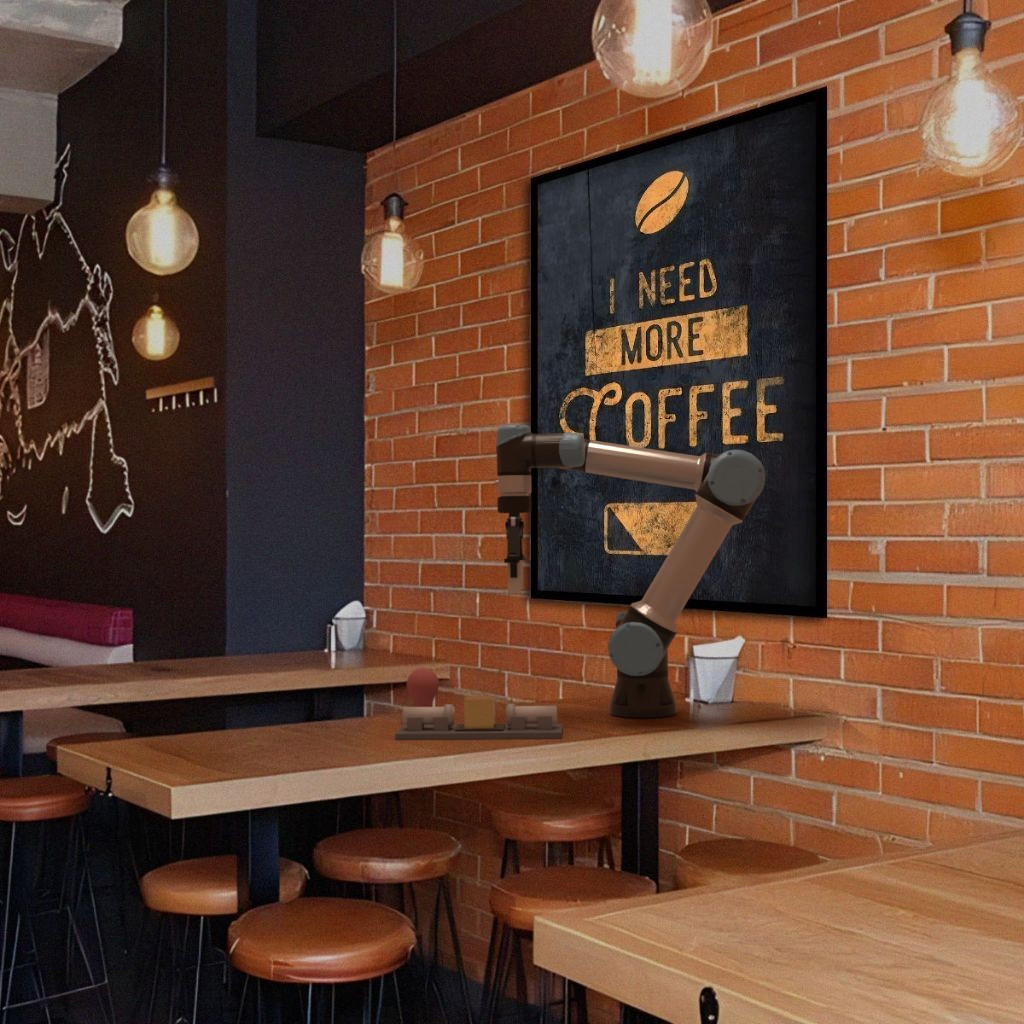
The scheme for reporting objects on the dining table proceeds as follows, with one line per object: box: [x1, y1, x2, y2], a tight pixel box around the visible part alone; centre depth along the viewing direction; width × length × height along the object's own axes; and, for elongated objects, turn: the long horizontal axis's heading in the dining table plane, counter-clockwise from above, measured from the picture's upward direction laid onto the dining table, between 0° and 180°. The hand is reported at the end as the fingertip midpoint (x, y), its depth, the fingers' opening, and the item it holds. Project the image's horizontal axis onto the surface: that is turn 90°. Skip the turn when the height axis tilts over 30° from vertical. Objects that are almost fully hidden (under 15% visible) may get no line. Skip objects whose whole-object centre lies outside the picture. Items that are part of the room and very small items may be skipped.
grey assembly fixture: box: [394, 703, 563, 741], centre depth 278 cm, size 34×12×6 cm, turn 87°
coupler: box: [463, 695, 496, 729], centre depth 278 cm, size 5×6×6 cm
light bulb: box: [406, 667, 440, 707], centre depth 296 cm, size 7×7×12 cm
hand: (515, 591), depth 294 cm, fingers open, 13 cm apart
